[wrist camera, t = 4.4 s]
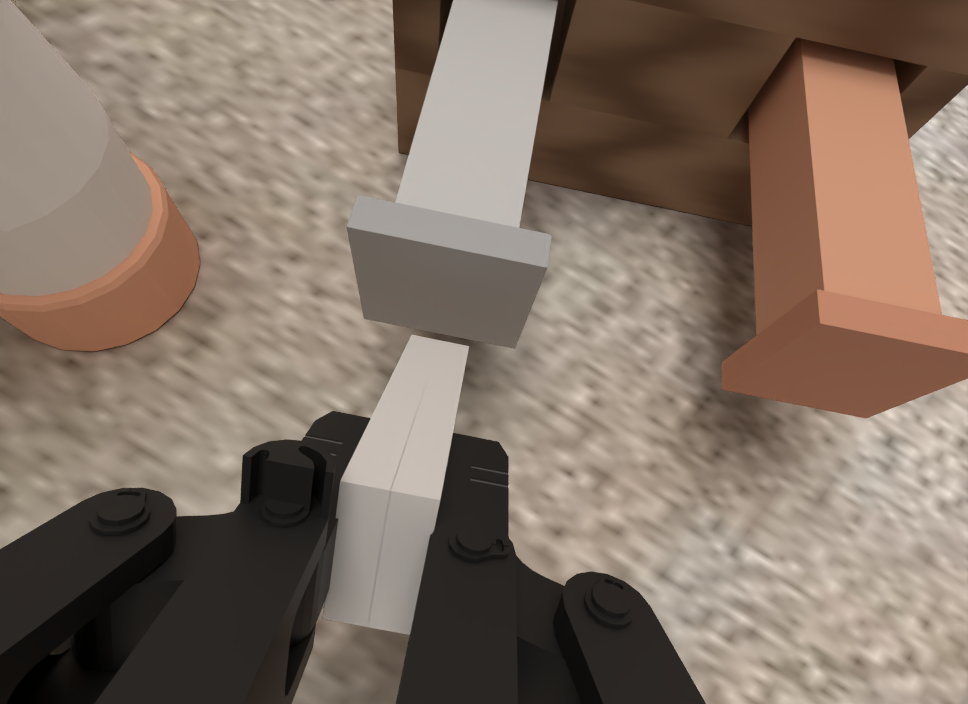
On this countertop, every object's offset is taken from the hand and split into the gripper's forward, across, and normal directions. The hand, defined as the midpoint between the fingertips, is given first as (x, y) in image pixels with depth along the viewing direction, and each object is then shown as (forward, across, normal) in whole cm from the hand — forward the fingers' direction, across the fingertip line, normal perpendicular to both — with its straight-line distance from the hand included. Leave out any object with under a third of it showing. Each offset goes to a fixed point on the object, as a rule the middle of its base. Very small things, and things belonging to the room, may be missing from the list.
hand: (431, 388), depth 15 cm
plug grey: (+9, 0, +5) cm, 10 cm away
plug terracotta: (+9, +12, +5) cm, 16 cm away
